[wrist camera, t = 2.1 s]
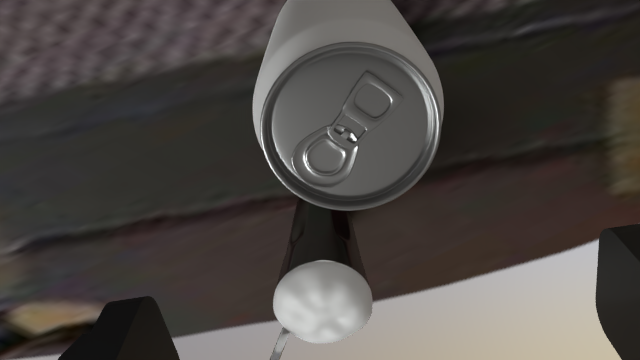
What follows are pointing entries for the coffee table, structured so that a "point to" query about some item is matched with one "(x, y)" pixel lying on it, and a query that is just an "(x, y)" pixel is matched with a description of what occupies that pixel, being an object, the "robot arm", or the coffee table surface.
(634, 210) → the coffee table surface
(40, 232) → the coffee table surface
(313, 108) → the can
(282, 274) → the milkshake
